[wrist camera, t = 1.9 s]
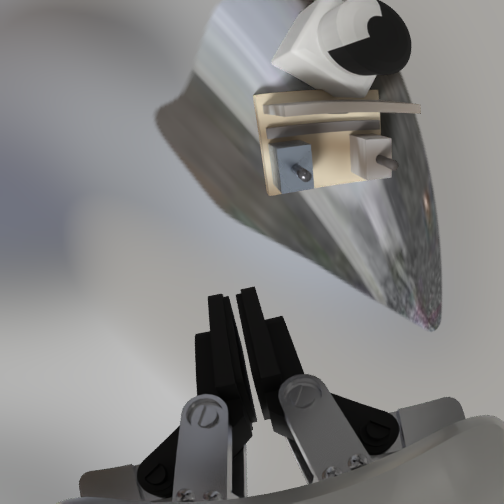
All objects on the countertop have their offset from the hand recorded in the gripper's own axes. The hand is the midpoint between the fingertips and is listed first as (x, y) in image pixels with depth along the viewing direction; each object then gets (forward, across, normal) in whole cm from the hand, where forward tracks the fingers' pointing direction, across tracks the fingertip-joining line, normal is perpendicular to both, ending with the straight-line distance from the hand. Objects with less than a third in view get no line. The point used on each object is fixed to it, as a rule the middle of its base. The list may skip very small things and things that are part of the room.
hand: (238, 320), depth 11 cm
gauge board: (+19, -12, -3) cm, 22 cm away
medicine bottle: (+20, -12, -12) cm, 26 cm away
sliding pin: (+18, -7, -1) cm, 19 cm away
